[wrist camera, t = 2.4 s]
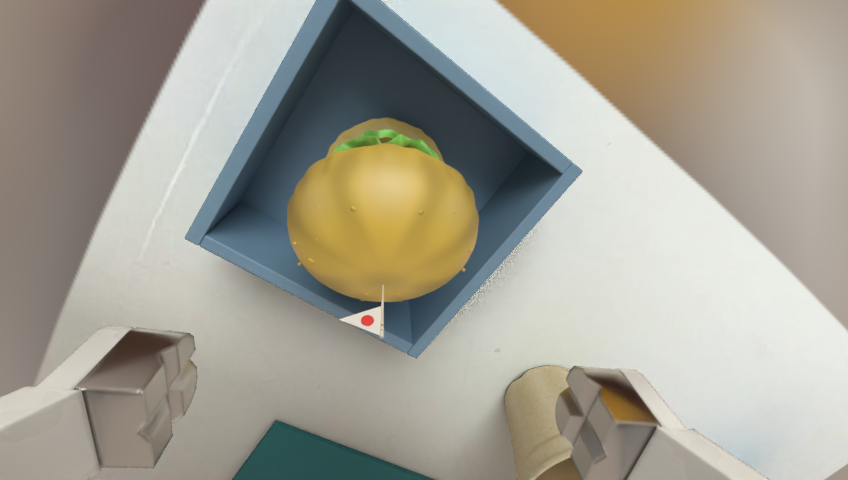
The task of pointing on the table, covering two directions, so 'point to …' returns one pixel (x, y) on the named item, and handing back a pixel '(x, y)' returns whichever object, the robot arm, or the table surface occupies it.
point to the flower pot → (539, 426)
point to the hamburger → (382, 217)
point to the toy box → (359, 102)
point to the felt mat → (313, 460)
